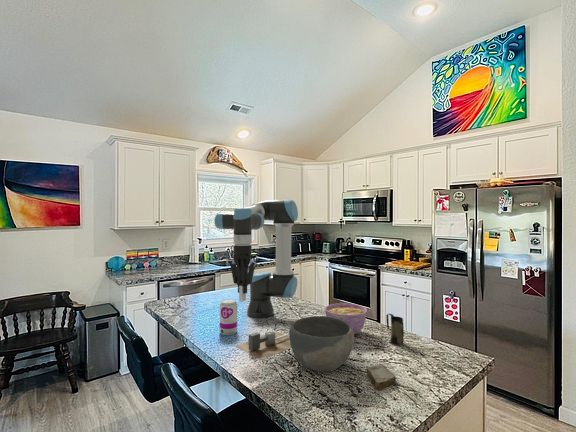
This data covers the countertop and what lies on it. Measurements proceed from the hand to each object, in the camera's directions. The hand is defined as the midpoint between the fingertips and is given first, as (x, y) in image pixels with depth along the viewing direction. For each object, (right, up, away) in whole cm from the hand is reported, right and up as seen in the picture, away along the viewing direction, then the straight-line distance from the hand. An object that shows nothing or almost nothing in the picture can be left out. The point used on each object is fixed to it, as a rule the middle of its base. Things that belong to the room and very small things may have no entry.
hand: (242, 300), depth 138 cm
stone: (+51, -21, -25) cm, 60 cm away
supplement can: (-9, -20, +19) cm, 30 cm away
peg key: (+12, -19, +2) cm, 22 cm away
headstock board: (+12, -20, +2) cm, 23 cm away
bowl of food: (+47, -20, +19) cm, 54 cm away
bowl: (+32, -21, -15) cm, 41 cm away
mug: (+66, -20, +7) cm, 70 cm away
